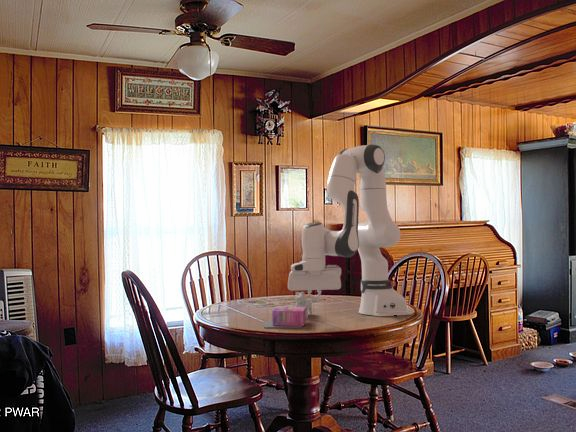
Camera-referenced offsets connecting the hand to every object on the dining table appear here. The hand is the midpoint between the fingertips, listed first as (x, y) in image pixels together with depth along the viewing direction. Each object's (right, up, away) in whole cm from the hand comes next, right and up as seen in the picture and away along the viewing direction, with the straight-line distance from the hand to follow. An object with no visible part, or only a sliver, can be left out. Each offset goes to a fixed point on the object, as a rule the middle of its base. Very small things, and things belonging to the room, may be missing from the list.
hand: (314, 301), depth 196 cm
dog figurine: (-4, -9, +18) cm, 21 cm away
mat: (-12, -9, 0) cm, 15 cm away
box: (-3, -5, 0) cm, 6 cm away
